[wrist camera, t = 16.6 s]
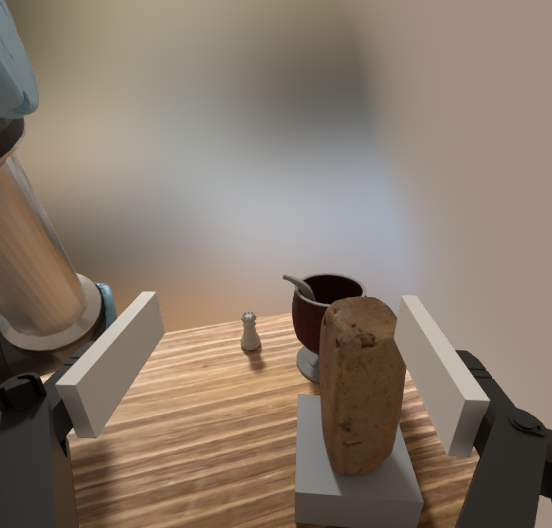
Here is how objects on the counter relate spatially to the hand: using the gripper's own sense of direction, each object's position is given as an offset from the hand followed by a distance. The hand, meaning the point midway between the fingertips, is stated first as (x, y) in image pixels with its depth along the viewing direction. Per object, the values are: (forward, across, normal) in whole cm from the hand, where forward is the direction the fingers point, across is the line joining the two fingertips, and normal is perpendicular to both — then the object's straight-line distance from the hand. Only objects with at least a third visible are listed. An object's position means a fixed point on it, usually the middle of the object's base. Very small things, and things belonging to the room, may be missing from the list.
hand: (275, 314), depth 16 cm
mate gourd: (+35, +6, -35) cm, 50 cm away
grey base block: (+14, +8, -34) cm, 38 cm away
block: (+14, +8, -28) cm, 33 cm away
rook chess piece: (+40, -9, -35) cm, 54 cm away
